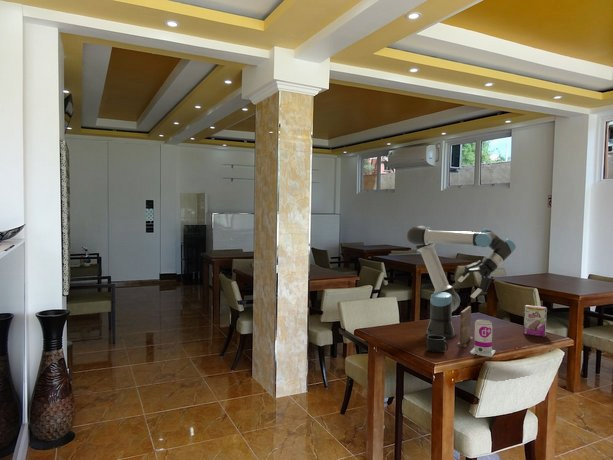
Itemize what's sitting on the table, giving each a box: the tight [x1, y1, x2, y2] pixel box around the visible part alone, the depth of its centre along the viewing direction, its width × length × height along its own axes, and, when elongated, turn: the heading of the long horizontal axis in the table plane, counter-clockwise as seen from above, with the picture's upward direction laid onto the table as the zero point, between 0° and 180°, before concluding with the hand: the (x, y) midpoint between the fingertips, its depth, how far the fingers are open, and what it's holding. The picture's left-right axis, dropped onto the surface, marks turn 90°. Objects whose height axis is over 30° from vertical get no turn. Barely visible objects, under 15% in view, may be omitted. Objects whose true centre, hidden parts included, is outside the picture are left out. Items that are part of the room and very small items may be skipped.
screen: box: [456, 305, 474, 348], centre depth 239 cm, size 4×18×18 cm, turn 147°
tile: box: [469, 347, 496, 358], centre depth 223 cm, size 10×10×1 cm
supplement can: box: [473, 319, 493, 353], centre depth 222 cm, size 8×8×15 cm
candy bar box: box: [523, 304, 548, 338], centre depth 256 cm, size 11×5×16 cm, turn 58°
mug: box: [426, 334, 449, 353], centre depth 223 cm, size 12×9×7 cm
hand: (465, 289), depth 245 cm, fingers open, 13 cm apart
